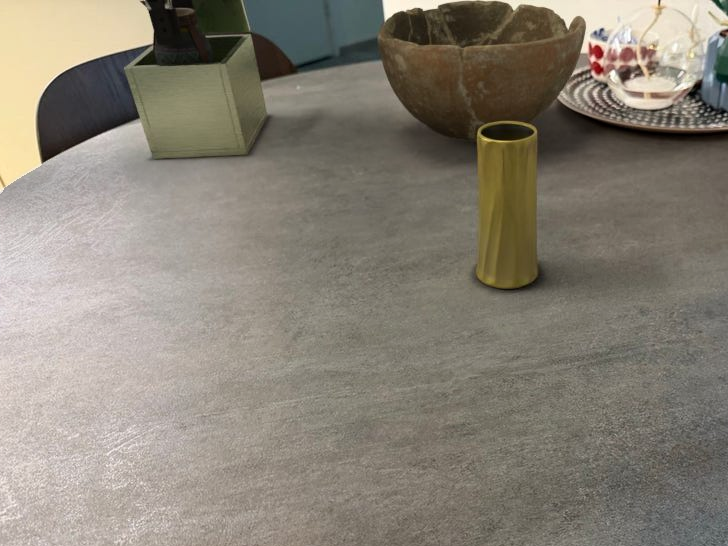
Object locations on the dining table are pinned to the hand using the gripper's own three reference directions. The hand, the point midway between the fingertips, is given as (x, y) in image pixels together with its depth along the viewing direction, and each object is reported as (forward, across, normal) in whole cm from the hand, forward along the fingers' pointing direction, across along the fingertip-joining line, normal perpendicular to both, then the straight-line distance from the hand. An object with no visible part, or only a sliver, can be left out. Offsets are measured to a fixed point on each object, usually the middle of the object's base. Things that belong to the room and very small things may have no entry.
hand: (178, 35), depth 91 cm
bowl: (+14, 0, +39) cm, 42 cm away
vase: (+14, +40, +39) cm, 58 cm away
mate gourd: (+5, 0, 0) cm, 5 cm away
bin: (+14, -3, 0) cm, 15 cm away
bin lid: (-6, -8, 0) cm, 10 cm away
